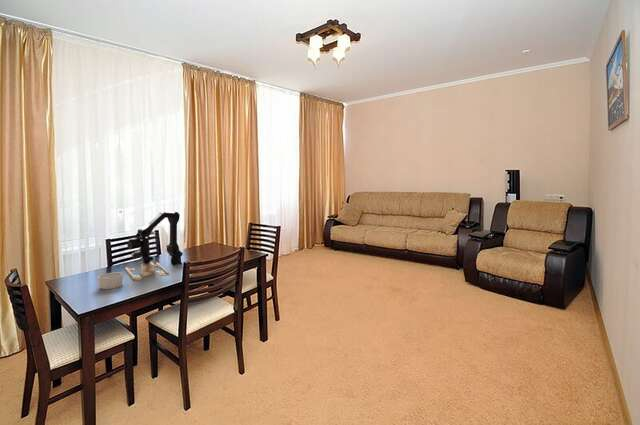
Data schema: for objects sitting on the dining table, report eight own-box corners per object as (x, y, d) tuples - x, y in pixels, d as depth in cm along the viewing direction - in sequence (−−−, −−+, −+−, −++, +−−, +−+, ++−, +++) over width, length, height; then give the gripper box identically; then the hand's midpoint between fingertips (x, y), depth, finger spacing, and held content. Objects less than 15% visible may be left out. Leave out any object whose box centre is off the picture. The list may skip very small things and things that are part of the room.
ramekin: (119, 281, 213) (118, 270, 212) (127, 285, 205) (126, 274, 204) (95, 287, 203) (94, 276, 202) (103, 291, 194) (102, 280, 194)
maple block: (152, 271, 232) (152, 262, 231) (155, 274, 226) (154, 264, 225) (141, 273, 228) (140, 263, 227) (143, 276, 222) (142, 266, 221)
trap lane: (157, 264, 251) (157, 262, 251) (168, 274, 226) (168, 272, 226) (125, 269, 238) (125, 267, 238) (133, 281, 213) (133, 278, 213)
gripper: (129, 245, 232) (130, 267, 234) (133, 250, 217) (135, 273, 219) (146, 243, 239) (148, 264, 241) (152, 248, 224) (154, 270, 226)
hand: (146, 268), depth 231 cm, fingers closed
